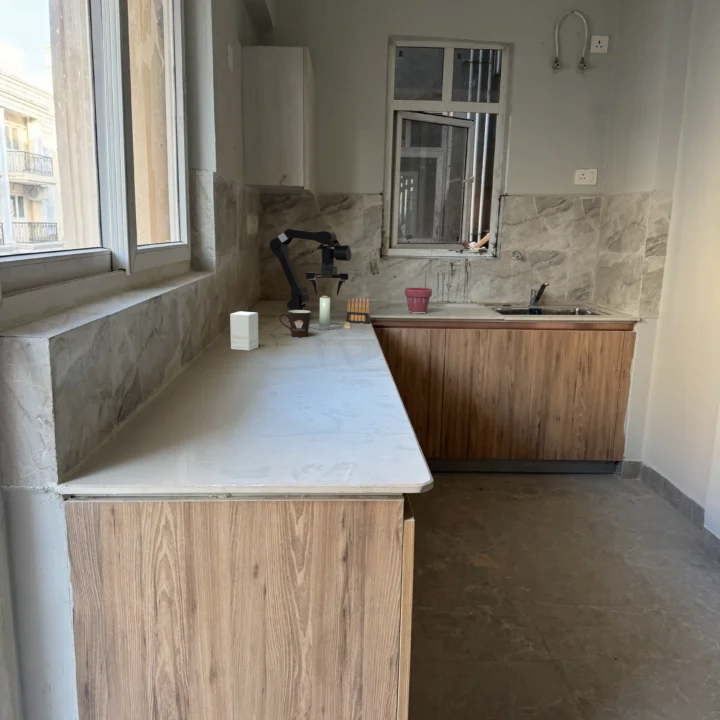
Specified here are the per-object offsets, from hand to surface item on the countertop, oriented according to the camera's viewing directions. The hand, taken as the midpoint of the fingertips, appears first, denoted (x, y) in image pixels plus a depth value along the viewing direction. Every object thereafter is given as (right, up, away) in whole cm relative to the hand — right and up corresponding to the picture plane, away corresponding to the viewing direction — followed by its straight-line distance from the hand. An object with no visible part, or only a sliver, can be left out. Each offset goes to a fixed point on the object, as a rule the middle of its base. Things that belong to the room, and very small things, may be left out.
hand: (327, 295), depth 275 cm
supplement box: (-26, -25, -59) cm, 69 cm away
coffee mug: (-11, -20, -31) cm, 38 cm away
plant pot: (+45, -4, +52) cm, 69 cm away
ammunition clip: (+14, -12, +9) cm, 20 cm away
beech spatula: (+9, -14, -1) cm, 17 cm away
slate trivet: (-1, -15, -8) cm, 17 cm away
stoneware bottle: (-1, -14, -8) cm, 16 cm away
